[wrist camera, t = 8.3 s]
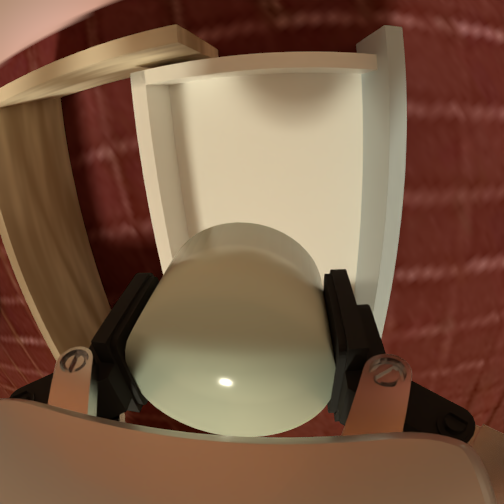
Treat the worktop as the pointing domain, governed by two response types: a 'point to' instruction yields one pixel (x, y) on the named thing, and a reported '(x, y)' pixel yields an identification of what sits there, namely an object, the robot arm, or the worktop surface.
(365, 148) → the tray
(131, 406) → the robot arm
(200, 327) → the cream glossy rounded part
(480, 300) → the worktop surface
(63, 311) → the sleeve
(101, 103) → the worktop surface
